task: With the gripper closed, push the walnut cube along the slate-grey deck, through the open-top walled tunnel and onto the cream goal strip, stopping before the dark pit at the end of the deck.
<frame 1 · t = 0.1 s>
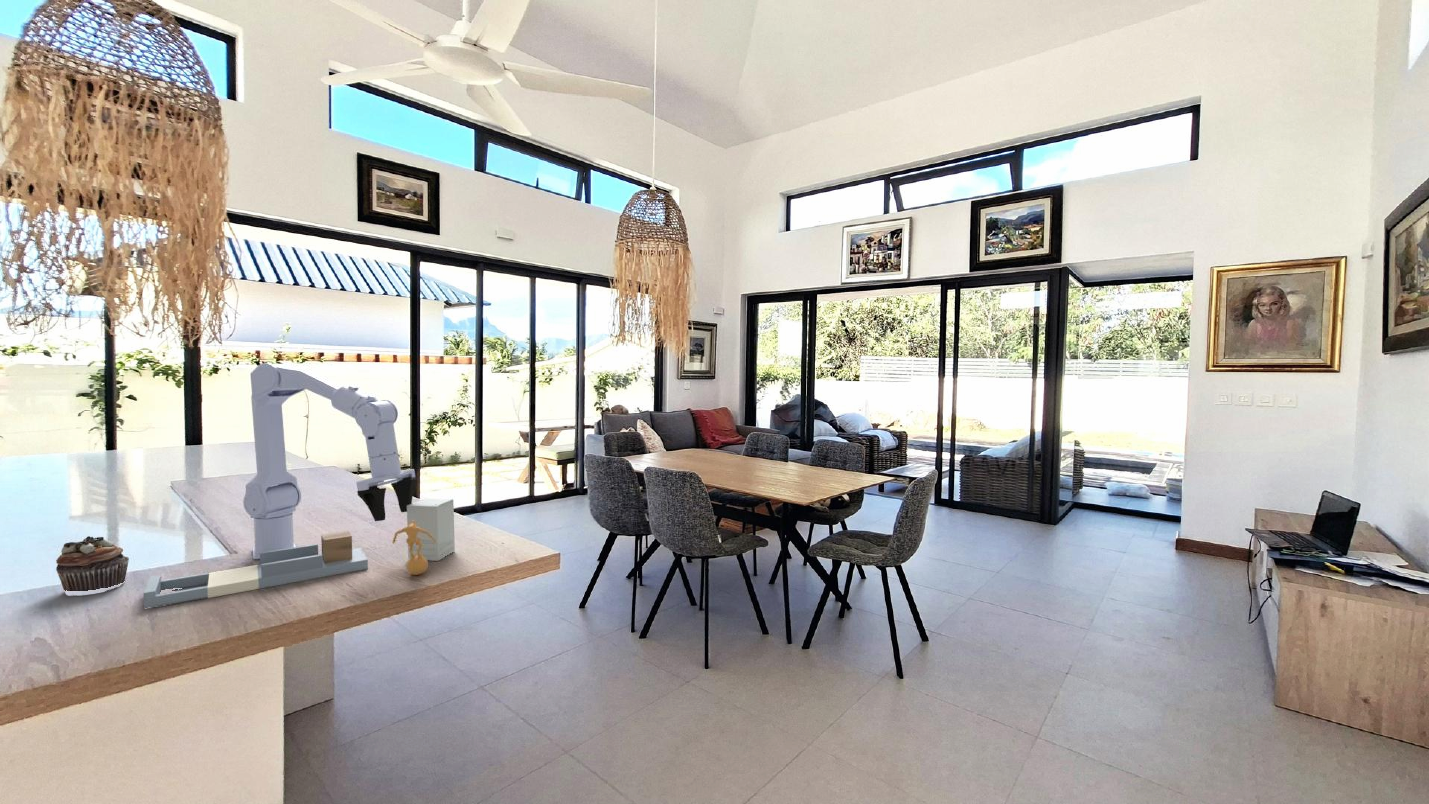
hand: (393, 516, 128), 10 cm above the table, tool pointing down, fingers open, 7 cm apart
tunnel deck: (267, 579, 118), on the table
cupcake: (95, 589, 112), on the table
supplement box: (431, 556, 134), on the table
block: (337, 558, 126), point 2 cm above the table, touching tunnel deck
figurine: (415, 577, 121), on the table
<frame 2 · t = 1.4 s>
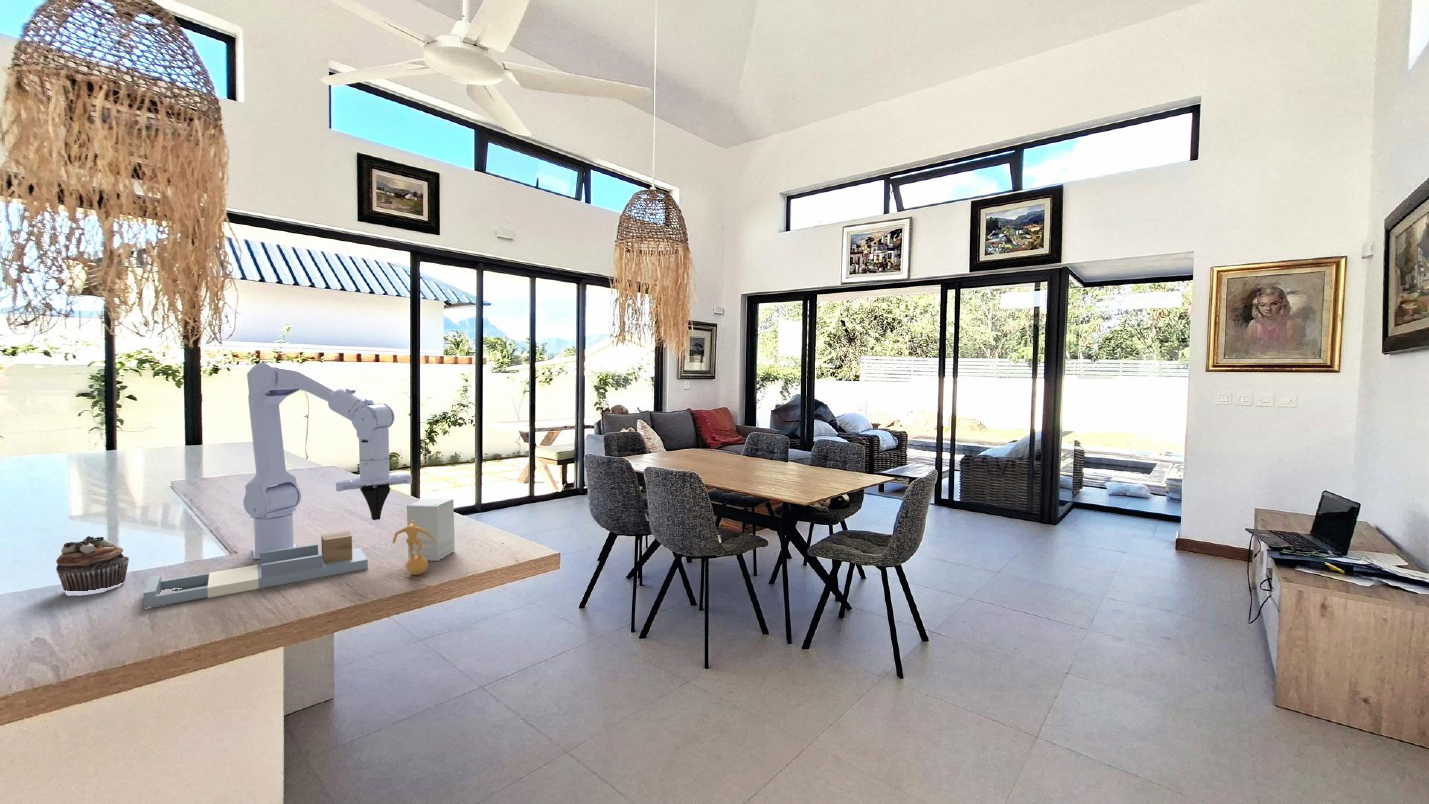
hand: (375, 518, 130), 9 cm above the table, tool pointing down, fingers closed
nothing on the table moved.
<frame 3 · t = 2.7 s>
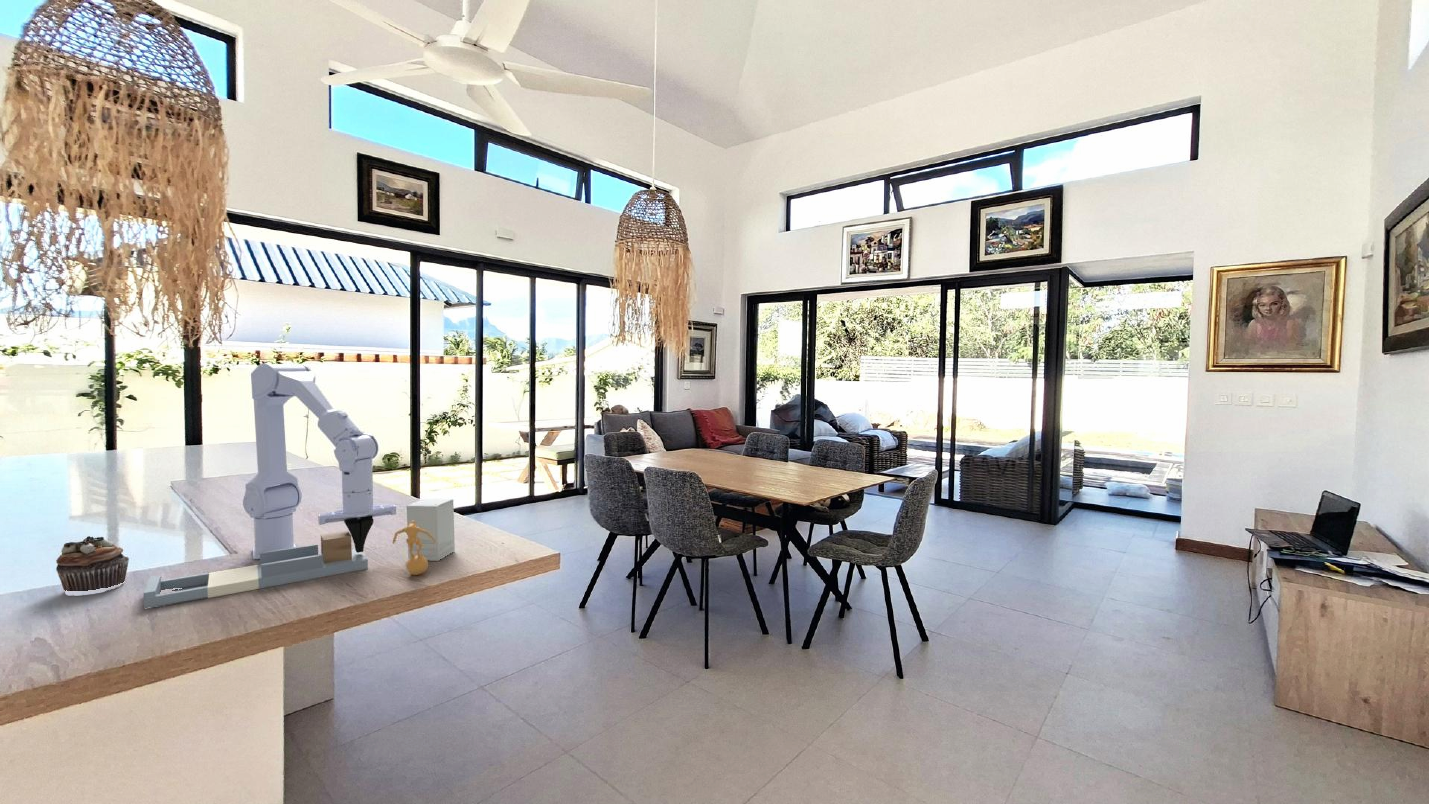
hand: (359, 551, 128), 3 cm above the table, tool pointing down, fingers closed
block: (336, 558, 126), point 2 cm above the table, touching gripper
everything else where it was.
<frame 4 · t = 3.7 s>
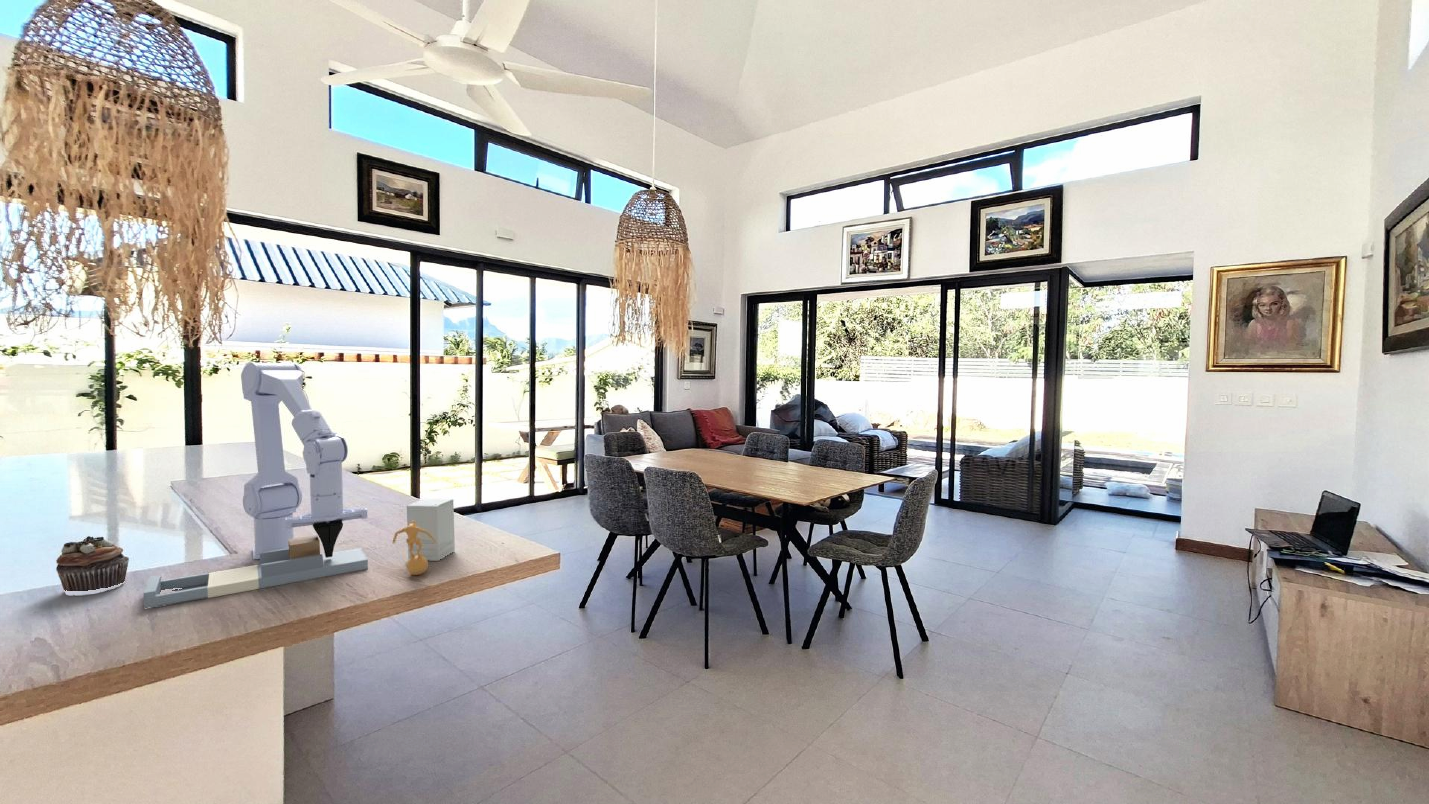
hand: (328, 556, 125), 3 cm above the table, tool pointing down, fingers closed
block: (304, 563, 122), point 2 cm above the table, touching gripper
everything else where it was.
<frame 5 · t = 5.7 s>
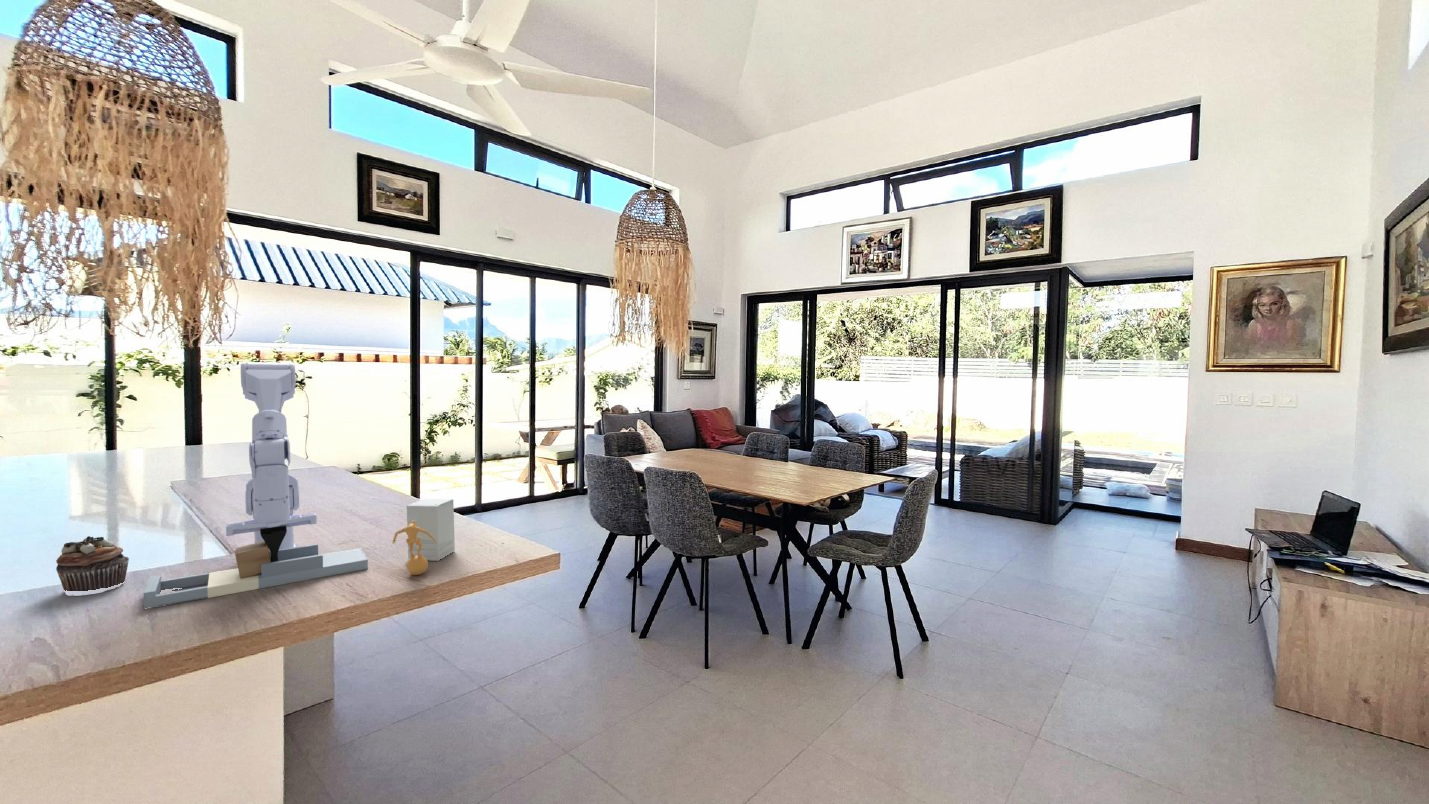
hand: (274, 564, 118), 3 cm above the table, tool pointing down, fingers closed, pressing on block
block: (256, 570, 117), point 2 cm above the table, tilted 7°, touching gripper, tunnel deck
everything else where it was.
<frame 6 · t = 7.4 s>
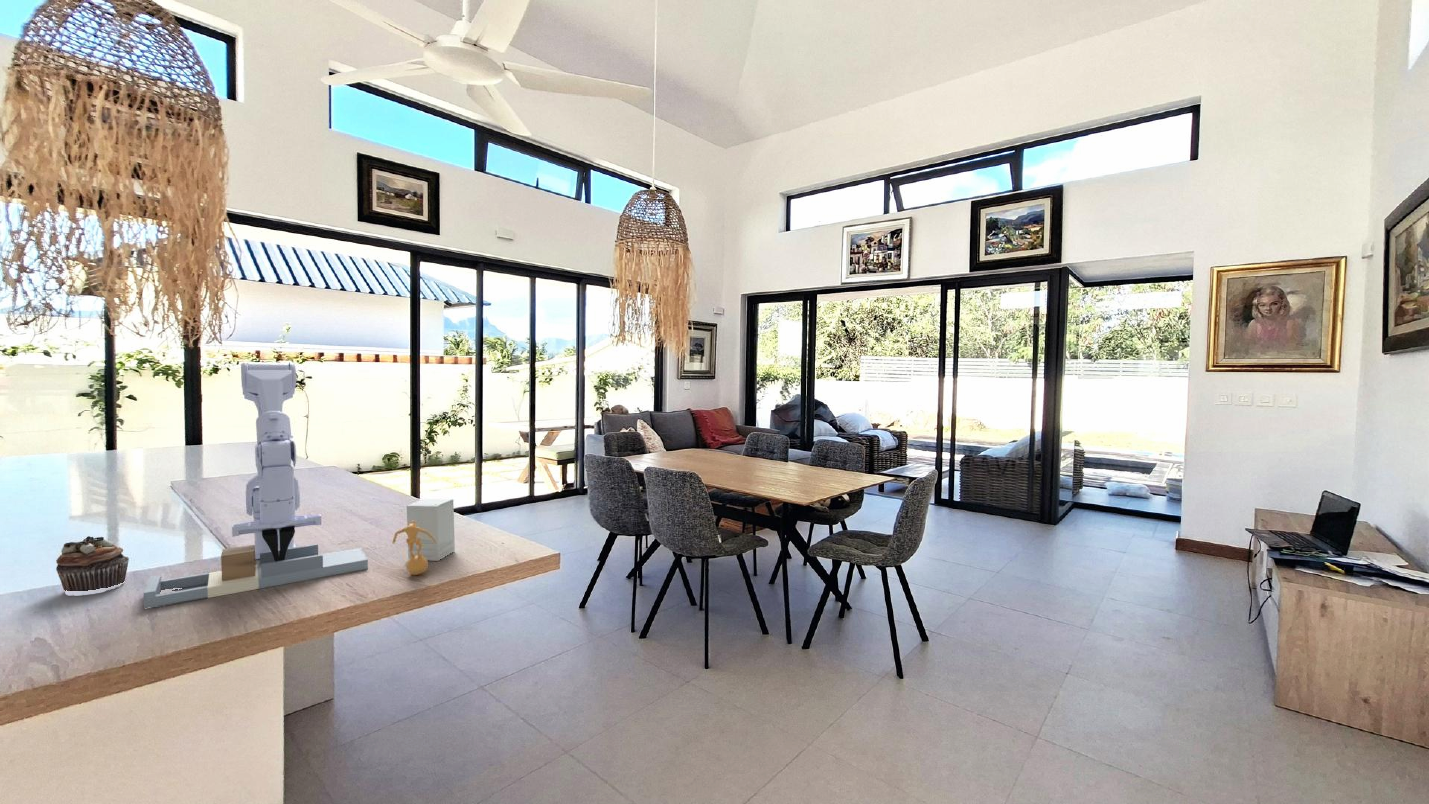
hand: (279, 564, 119), 3 cm above the table, tool pointing down, fingers closed
block: (239, 574, 115), point 2 cm above the table, touching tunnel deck
everything else where it was.
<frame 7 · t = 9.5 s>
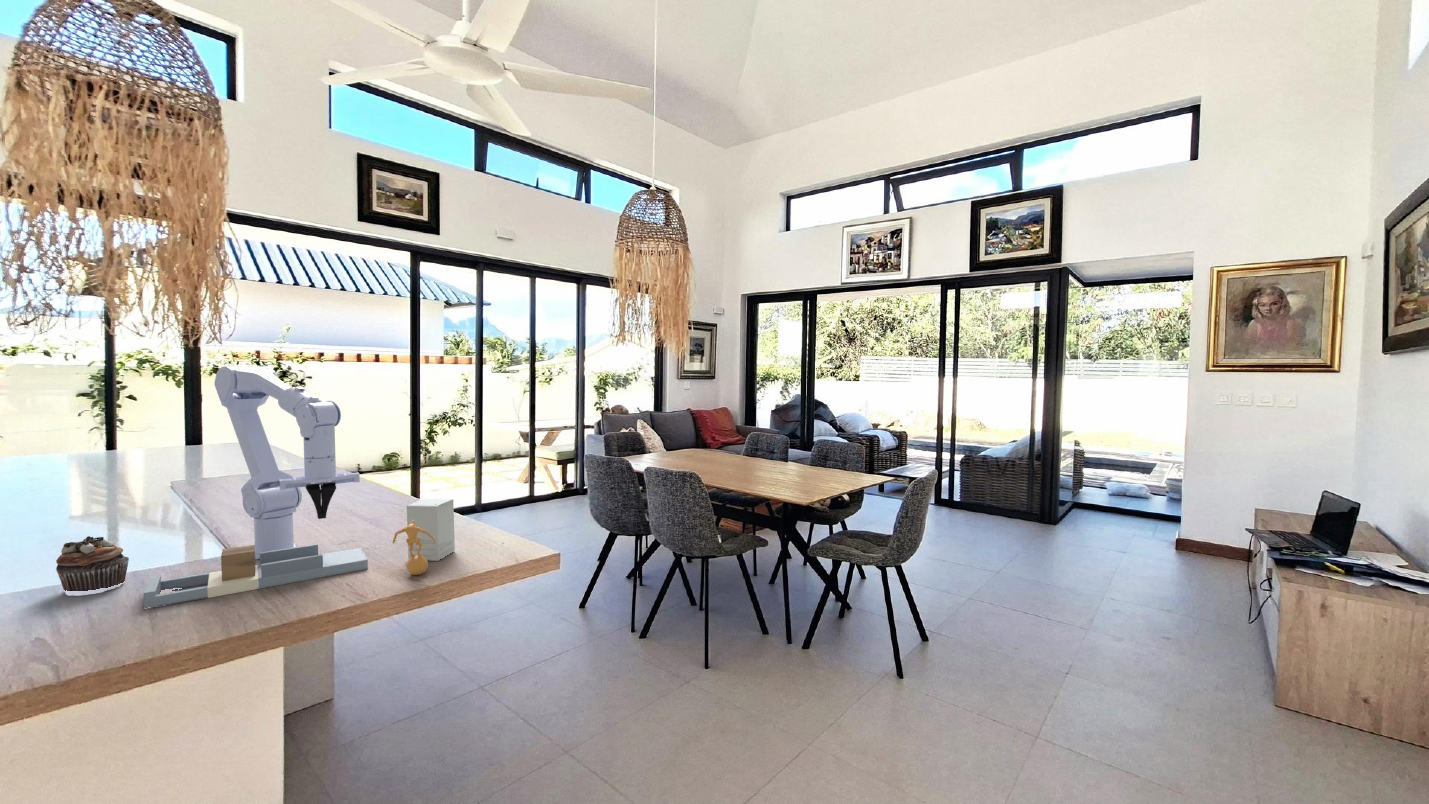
hand: (321, 517, 128), 10 cm above the table, tool pointing down, fingers closed
nothing on the table moved.
at the end: block inside the target area (0.4 cm from its centre), point 1.9 cm above the table; block tilted 0° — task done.
